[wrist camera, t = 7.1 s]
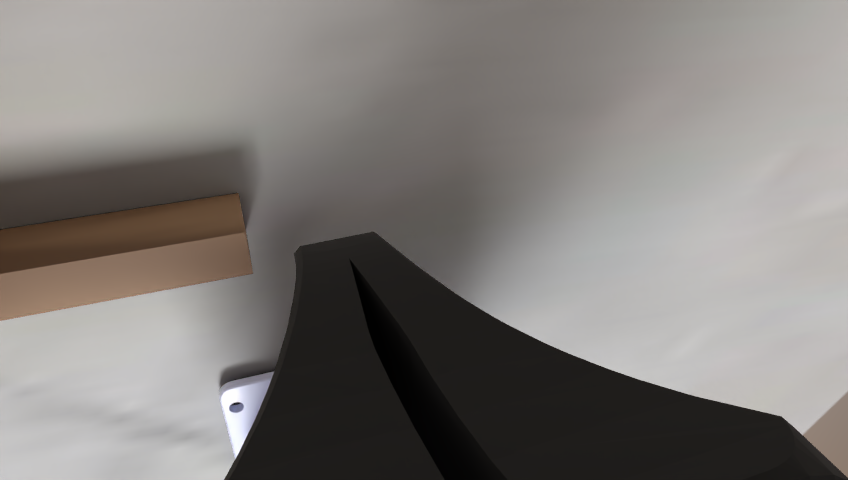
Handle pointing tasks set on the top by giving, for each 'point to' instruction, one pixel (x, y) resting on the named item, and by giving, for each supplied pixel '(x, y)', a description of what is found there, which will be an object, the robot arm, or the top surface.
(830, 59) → the top surface
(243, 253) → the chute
